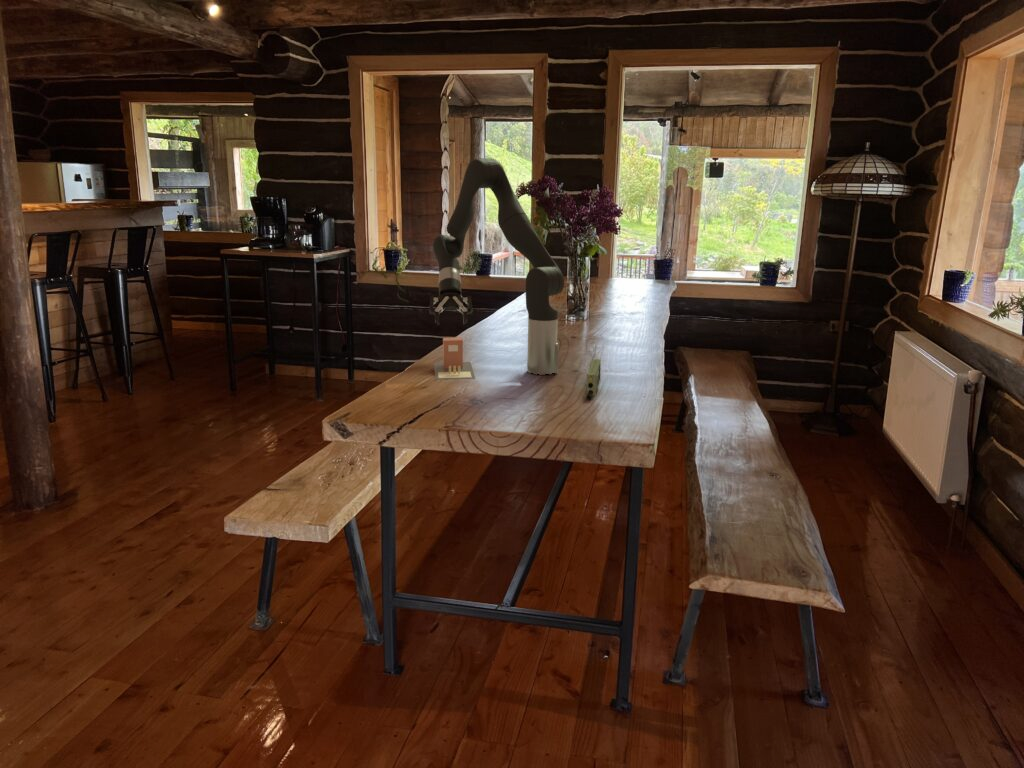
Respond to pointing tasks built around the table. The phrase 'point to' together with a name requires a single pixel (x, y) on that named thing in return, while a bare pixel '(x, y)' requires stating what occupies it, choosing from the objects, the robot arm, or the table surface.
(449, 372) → the pin board
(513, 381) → the table surface
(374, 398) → the table surface
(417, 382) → the table surface
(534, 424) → the table surface
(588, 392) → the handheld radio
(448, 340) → the block
